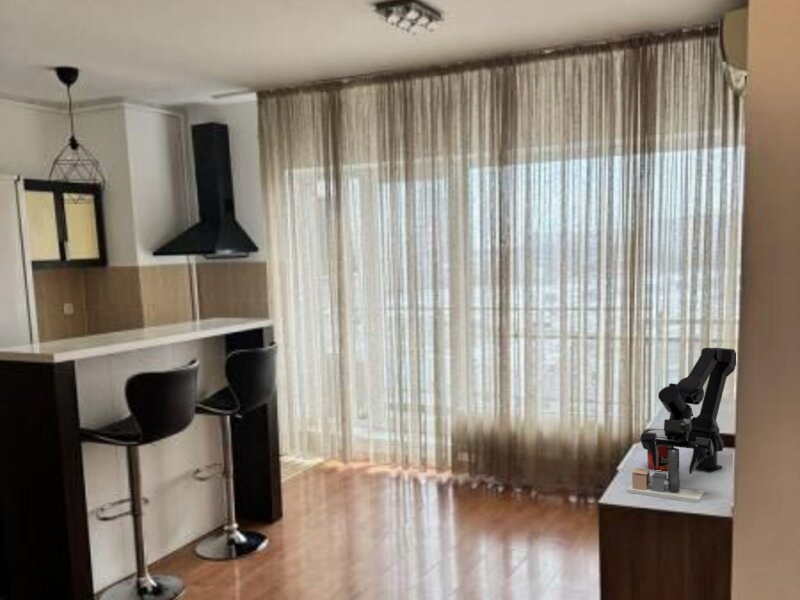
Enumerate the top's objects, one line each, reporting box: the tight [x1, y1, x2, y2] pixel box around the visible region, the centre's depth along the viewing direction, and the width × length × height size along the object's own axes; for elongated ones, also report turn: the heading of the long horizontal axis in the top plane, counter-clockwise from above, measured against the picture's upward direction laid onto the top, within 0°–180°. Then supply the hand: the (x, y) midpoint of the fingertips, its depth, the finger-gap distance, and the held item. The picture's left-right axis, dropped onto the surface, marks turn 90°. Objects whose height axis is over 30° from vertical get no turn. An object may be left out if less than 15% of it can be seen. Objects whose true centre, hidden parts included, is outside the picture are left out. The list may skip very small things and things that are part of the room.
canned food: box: [647, 429, 675, 472], centre depth 218 cm, size 8×8×11 cm
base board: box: [626, 483, 704, 504], centre depth 197 cm, size 19×6×1 cm, turn 58°
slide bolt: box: [646, 447, 681, 492], centre depth 197 cm, size 11×3×12 cm, turn 58°
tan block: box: [631, 467, 651, 490], centre depth 200 cm, size 4×4×5 cm
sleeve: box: [651, 472, 668, 492], centre depth 198 cm, size 3×3×4 cm
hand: (672, 471), depth 194 cm, fingers open, 9 cm apart
